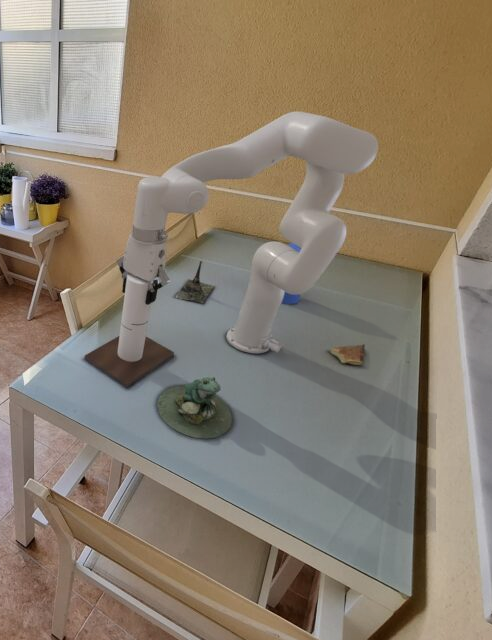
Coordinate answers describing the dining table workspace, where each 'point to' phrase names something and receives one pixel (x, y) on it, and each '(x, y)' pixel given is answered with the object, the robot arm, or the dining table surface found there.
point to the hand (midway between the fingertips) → (138, 296)
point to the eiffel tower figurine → (195, 289)
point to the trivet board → (126, 370)
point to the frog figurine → (195, 409)
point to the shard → (349, 354)
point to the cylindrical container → (134, 319)
